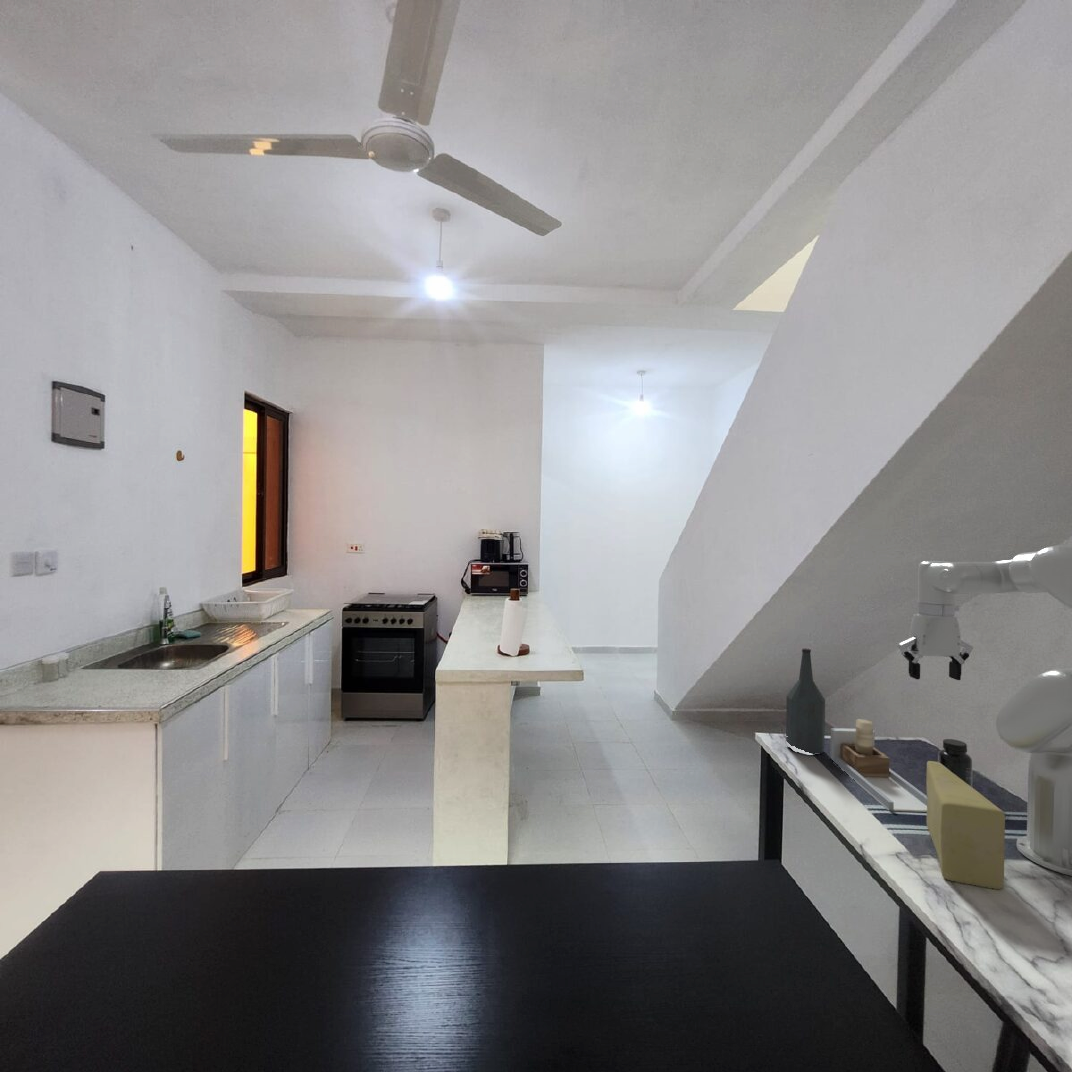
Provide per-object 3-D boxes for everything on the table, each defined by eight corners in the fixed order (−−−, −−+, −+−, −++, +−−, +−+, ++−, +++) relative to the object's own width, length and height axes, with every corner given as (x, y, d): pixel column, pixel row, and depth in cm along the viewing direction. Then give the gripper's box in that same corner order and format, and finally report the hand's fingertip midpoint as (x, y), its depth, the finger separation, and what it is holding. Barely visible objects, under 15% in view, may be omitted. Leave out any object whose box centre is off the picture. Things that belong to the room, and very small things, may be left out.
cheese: (904, 820, 122) (905, 754, 122) (956, 829, 119) (957, 761, 119) (941, 880, 101) (943, 801, 101) (1005, 892, 98) (1007, 810, 98)
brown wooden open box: (889, 776, 142) (889, 758, 142) (857, 775, 143) (857, 757, 142) (869, 762, 151) (870, 744, 151) (840, 761, 152) (840, 743, 151)
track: (937, 812, 126) (938, 773, 126) (888, 810, 126) (889, 772, 126) (870, 760, 154) (870, 729, 154) (830, 759, 154) (830, 728, 154)
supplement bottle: (959, 783, 140) (960, 737, 140) (978, 796, 133) (979, 748, 133) (931, 782, 141) (932, 736, 141) (948, 795, 134) (949, 747, 134)
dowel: (875, 769, 145) (876, 724, 145) (860, 768, 145) (860, 724, 145) (867, 762, 149) (868, 719, 149) (852, 762, 149) (852, 718, 149)
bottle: (830, 756, 156) (832, 653, 156) (796, 756, 156) (797, 652, 156) (813, 742, 167) (814, 645, 166) (780, 742, 167) (782, 644, 166)
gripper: (960, 608, 139) (959, 675, 139) (891, 607, 140) (890, 673, 140) (983, 613, 131) (982, 683, 132) (909, 612, 132) (908, 681, 133)
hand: (934, 678), depth 136 cm, fingers open, 9 cm apart
